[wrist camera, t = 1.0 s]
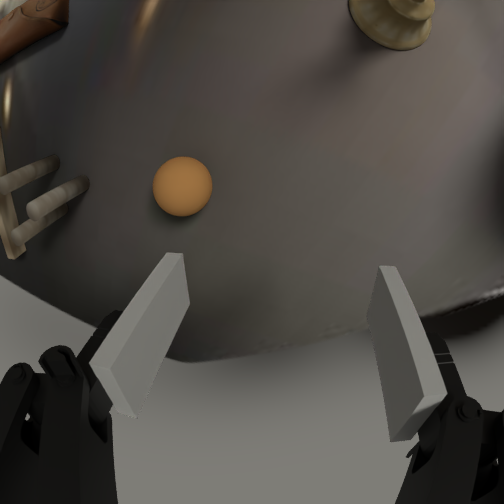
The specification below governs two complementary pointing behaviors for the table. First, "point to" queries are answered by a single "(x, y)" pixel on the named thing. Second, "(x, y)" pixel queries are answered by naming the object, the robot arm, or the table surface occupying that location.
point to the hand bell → (394, 21)
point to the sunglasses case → (31, 24)
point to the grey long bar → (8, 215)
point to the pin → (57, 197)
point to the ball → (182, 186)
